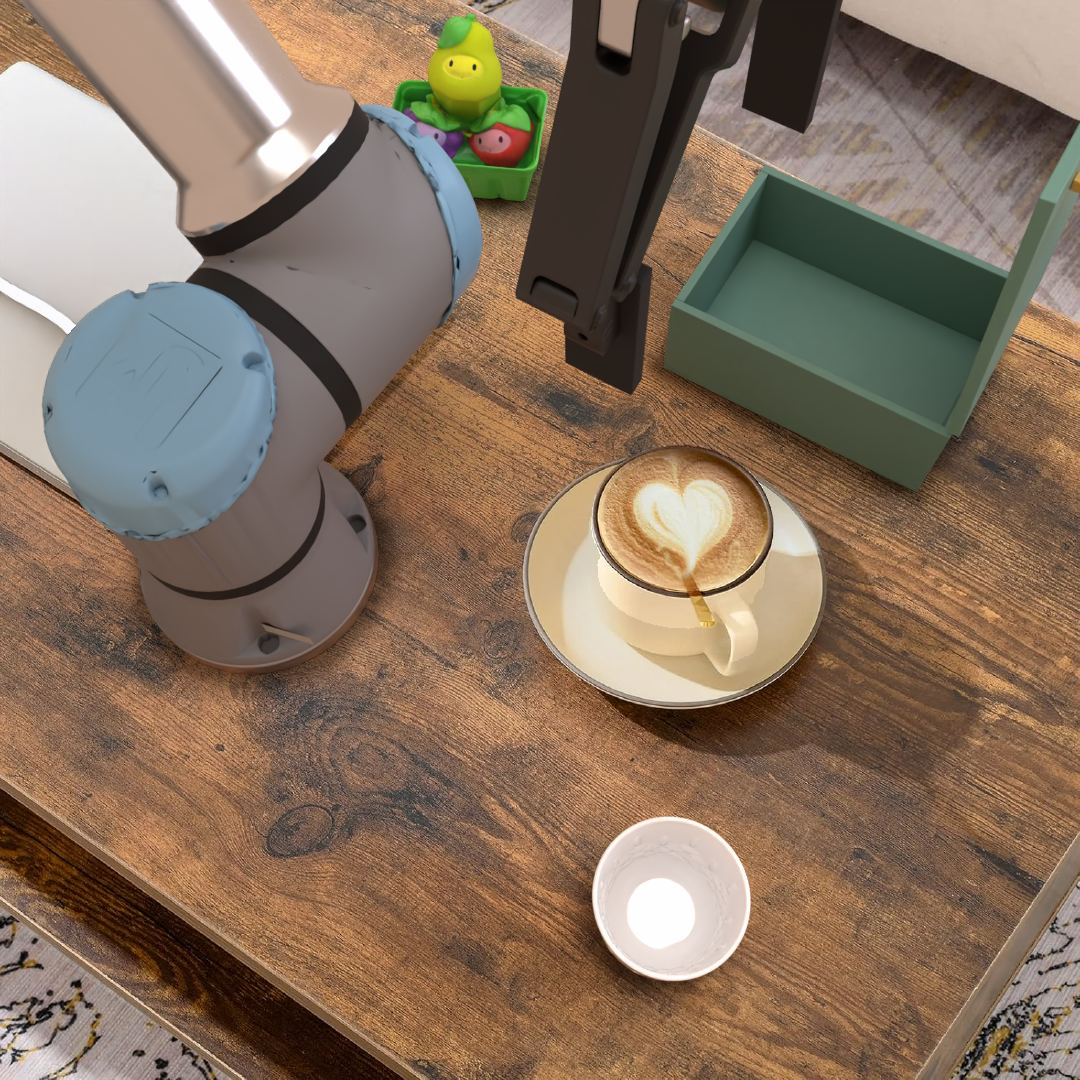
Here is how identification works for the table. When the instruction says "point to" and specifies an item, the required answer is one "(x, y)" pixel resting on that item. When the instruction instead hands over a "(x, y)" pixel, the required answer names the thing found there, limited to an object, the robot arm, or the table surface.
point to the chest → (835, 324)
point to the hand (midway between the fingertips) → (694, 237)
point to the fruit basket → (477, 112)
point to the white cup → (671, 899)
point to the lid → (1023, 275)
